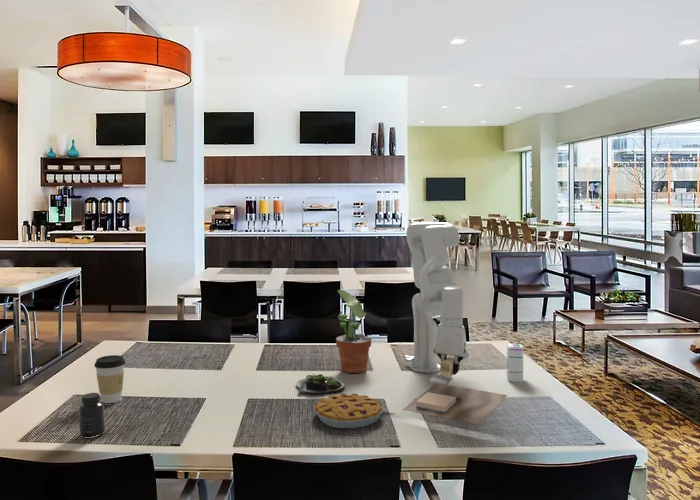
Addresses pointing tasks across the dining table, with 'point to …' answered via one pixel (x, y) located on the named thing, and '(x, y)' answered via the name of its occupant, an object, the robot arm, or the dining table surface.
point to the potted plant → (352, 338)
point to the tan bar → (445, 371)
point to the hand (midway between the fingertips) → (450, 372)
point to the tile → (436, 402)
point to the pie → (348, 410)
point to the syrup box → (515, 362)
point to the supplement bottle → (91, 415)
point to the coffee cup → (110, 377)
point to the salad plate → (320, 385)
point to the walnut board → (463, 403)
